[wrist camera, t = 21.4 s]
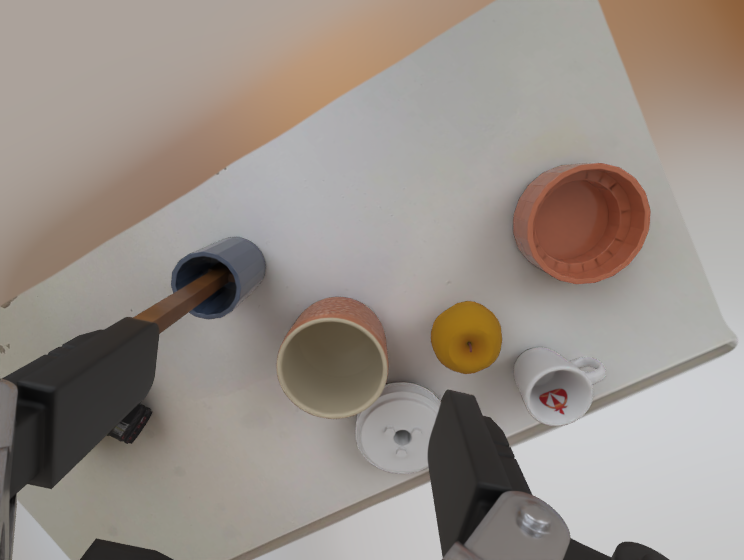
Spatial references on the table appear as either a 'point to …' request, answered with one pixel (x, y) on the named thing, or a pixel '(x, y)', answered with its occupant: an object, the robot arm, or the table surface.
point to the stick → (187, 297)
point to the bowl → (582, 221)
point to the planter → (334, 359)
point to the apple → (466, 337)
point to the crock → (239, 260)
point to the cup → (556, 385)
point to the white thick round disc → (398, 428)
